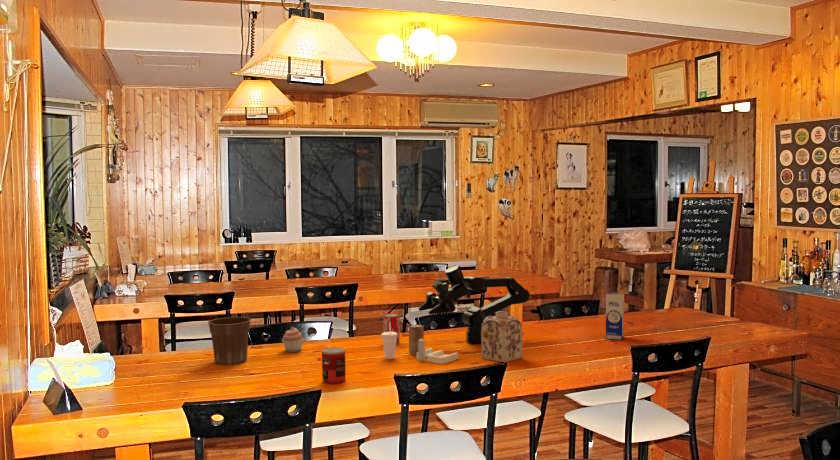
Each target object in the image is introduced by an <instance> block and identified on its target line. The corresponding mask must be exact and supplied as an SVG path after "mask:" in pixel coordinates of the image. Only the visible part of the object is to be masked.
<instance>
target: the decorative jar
mask: <svg viewBox="0 0 840 460" xmlns="http://www.w3.org/2000/svg"><path fill="white" fill-rule="evenodd" d="M480 344H481V346H480V347H481V349H480V350H481V359H483V360H488V361H493V362H497V363H501V362H506V363H509V362H512V361H515V360H519V359H522V358H523V324H522V323H521V321H520V320H519V319H518V318H517V317H516V316H513V315H509V313H508V312H507V311H503V310H500V311H498V312H496V313H495V315H490V316H488V317H486V318H485V320H484V321H483V323H482V325H481V343H480Z"/></svg>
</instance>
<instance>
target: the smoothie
mask: <svg viewBox="0 0 840 460" xmlns="http://www.w3.org/2000/svg"><path fill="white" fill-rule="evenodd" d="M380 336H381V337H382V344H383V354H384V358H385V359H386V360H393V359H395V357H396V349H397V348H396V347H397V343H396V339H397V336H398V335H397V333H396V332H391V323H390V322H389V332H384V333H383V332H382V333H381V334H380Z"/></svg>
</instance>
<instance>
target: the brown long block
mask: <svg viewBox="0 0 840 460" xmlns="http://www.w3.org/2000/svg"><path fill="white" fill-rule="evenodd" d="M424 329H425V328H424V325H421V324H416V325H409V326H408V350H409V351H408V353H409V354H410V355H412V356H413V355H416V356H417V352H418V340H420V339H423V340H425V338H424V337H425V335H424V333H425V332H424Z"/></svg>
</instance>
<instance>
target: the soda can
mask: <svg viewBox="0 0 840 460" xmlns="http://www.w3.org/2000/svg"><path fill="white" fill-rule="evenodd" d="M382 320H383V321H382V331H383V332H382V333H384V332H389V322H390V323H391V332H396V333H397V335H398V336H397V339H396V344H397V343H399V342H400V340H401V339H400V335H401V331H400V318H399V315H398V314H397V313H387V314H384V316H383V319H382Z"/></svg>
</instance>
